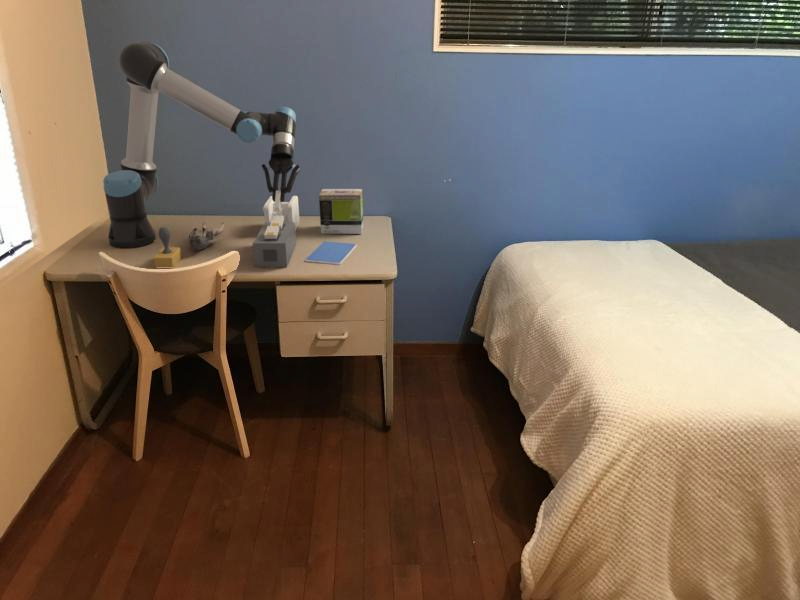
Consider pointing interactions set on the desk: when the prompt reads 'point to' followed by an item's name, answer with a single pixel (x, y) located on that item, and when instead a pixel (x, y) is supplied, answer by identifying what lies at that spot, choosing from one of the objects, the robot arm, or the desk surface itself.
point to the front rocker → (271, 232)
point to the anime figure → (204, 236)
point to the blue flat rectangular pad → (331, 253)
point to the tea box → (341, 211)
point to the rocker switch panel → (275, 246)
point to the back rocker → (277, 221)
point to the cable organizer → (283, 210)
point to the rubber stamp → (167, 251)
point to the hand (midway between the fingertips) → (277, 209)
